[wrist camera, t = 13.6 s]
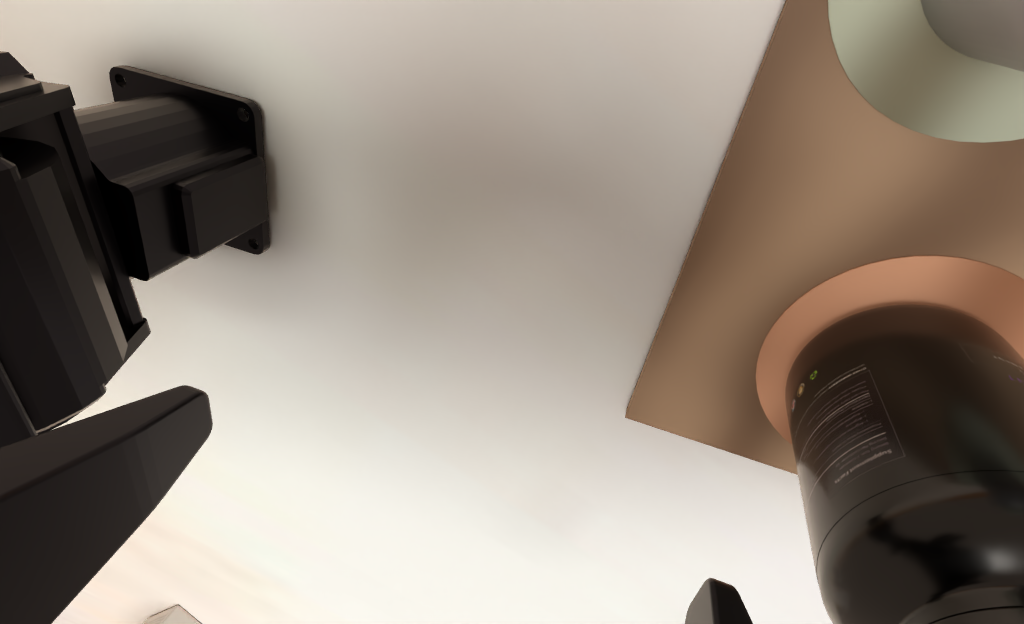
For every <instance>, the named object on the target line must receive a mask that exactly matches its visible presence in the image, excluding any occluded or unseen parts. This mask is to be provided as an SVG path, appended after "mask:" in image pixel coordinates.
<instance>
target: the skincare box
mask: <svg viewBox="0 0 1024 624" xmlns="http://www.w3.org/2000/svg"><path fill="white" fill-rule="evenodd" d="M143 624H201V623H200V622H198V621H197V620H196V619H195V618H194V617H192V616H191V615H190V614H189V613H188V612H187V611H185V610H184V609H183V608H182V607H180V606H179V605H176V606H174V607H172V608H170V609H168V610H166V611H163V612H161V613H159V614H157V615H154V616H152V617H150V618H148V619H147V620H146V621H145V622H144V623H143Z"/></svg>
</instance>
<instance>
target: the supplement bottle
mask: <svg viewBox="0 0 1024 624" xmlns="http://www.w3.org/2000/svg"><path fill="white" fill-rule="evenodd" d="M785 402H786V410H787V416H788V424H789V429H790V434H791V440H792V445H793V451H794V456H795V462H796V467H797V473H798V478H799V483H800V489H801V494H802V500H803V505H804V511H805V516H806V522H807V527H808V532H809V538H810V543H811V549H812V554H813V559H814V565H815V570H816V575H817V580H818V584H819V588H820V592H821V596H822V600H823V604H824V606H825V608H826V611H827V613H828V615H829V617H830V619H831V621H832V623H833V624H1024V359H1023V358H1022V357H1021V356H1020V355H1019V353H1018V352H1017V351H1016V350H1015V349H1014V348H1013V347H1012V346H1011V345H1010V344H1009V343H1008V342H1007V341H1006V340H1005V339H1004V338H1003V337H1002V336H1001V335H1000V334H999V333H997V332H996V331H995V330H994V329H992V328H991V327H989V326H988V325H986V324H985V323H983V322H981V321H979V320H977V319H975V318H973V317H971V316H968V315H966V314H963V313H961V312H957V311H954V310H951V309H947V308H942V307H937V306H929V305H915V304H908V305H892V306H884V307H878V308H873V309H869V310H866V311H862V312H859V313H856V314H853V315H851V316H848V317H846V318H844V319H842V320H840V321H838V322H836V323H834V324H832V325H831V326H829V327H827V328H826V329H824V330H823V331H822V332H820V333H819V334H818V335H816V336H815V337H814V338H813V339H812V340H811V341H810V342H809V343H808V344H807V345H806V346H805V347H804V348H803V349H802V350H801V352H800V353H799V355H798V356H797V357H796V359H795V361H794V363H793V365H792V367H791V369H790V372H789V374H788V378H787V382H786V388H785Z"/></svg>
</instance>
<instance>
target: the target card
mask: <svg viewBox="0 0 1024 624" xmlns="http://www.w3.org/2000/svg"><path fill="white" fill-rule="evenodd" d="M908 304H915V305H929V306H937V307H942V308H947V309H951V310H954V311H957V312H961V313H963V314H966V315H968V316H971V317H973V318H975V319H977V320H979V321H981V322H983V323H985V324H986V325H988V326H989V327H991V328H992V329H994V330H995V331H996V332H997V333H999V334H1000V335H1001V336H1002V337H1003V338H1004V339H1005V340H1006V341H1007V342H1008V343H1009V344H1010V345H1011V346H1012V347H1013V348H1014V349H1015V350H1016V351H1017V352H1018V353H1019V355H1020V356H1021V357H1022V358H1023V359H1024V72H1022V71H1018V70H1014V69H1011V68H1007V67H1003V66H1000V65H996V64H992V63H989V62H985V61H981V60H978V59H974V58H971V57H968V56H965V55H963V54H961V53H959V52H957V51H955V50H953V49H952V48H951V47H949V46H948V45H946V44H945V43H944V42H943V41H942V40H941V39H940V38H939V37H938V36H937V35H936V34H935V32H934V31H933V29H932V28H931V27H930V25H929V23H928V21H927V19H926V17H925V15H924V12H923V8H922V4H921V0H786V2H785V4H784V7H783V10H782V12H781V15H780V17H779V20H778V22H777V25H776V28H775V30H774V33H773V35H772V38H771V40H770V43H769V46H768V48H767V51H766V53H765V56H764V58H763V61H762V63H761V66H760V69H759V71H758V74H757V76H756V79H755V81H754V84H753V87H752V89H751V92H750V94H749V97H748V99H747V102H746V105H745V107H744V110H743V112H742V115H741V117H740V120H739V123H738V125H737V128H736V130H735V133H734V135H733V138H732V140H731V143H730V146H729V148H728V151H727V153H726V156H725V158H724V161H723V164H722V166H721V169H720V171H719V174H718V176H717V179H716V182H715V184H714V187H713V189H712V192H711V194H710V197H709V199H708V202H707V205H706V207H705V210H704V212H703V215H702V217H701V220H700V223H699V225H698V228H697V230H696V233H695V235H694V238H693V241H692V243H691V246H690V248H689V251H688V253H687V256H686V259H685V261H684V264H683V266H682V269H681V271H680V274H679V276H678V279H677V282H676V284H675V287H674V289H673V292H672V294H671V297H670V300H669V302H668V305H667V307H666V310H665V312H664V315H663V318H662V320H661V323H660V325H659V328H658V330H657V333H656V336H655V338H654V341H653V343H652V346H651V348H650V351H649V353H648V356H647V359H646V361H645V364H644V366H643V369H642V371H641V374H640V377H639V379H638V382H637V384H636V387H635V389H634V392H633V395H632V397H631V400H630V402H629V405H628V407H627V410H626V416H625V418H628V419H631V420H634V421H637V422H640V423H643V424H646V425H649V426H652V427H655V428H658V429H661V430H664V431H667V432H670V433H673V434H676V435H679V436H682V437H685V438H689V439H692V440H695V441H698V442H701V443H704V444H707V445H710V446H713V447H716V448H719V449H722V450H725V451H728V452H731V453H734V454H737V455H740V456H743V457H746V458H749V459H752V460H755V461H758V462H761V463H764V464H767V465H770V466H773V467H776V468H779V469H782V470H785V471H788V472H791V473H794V474H797V475H798V473H797V467H796V462H795V456H794V451H793V445H792V440H791V434H790V429H789V424H788V416H787V410H786V402H785V388H786V382H787V378H788V374H789V372H790V369H791V367H792V365H793V363H794V361H795V359H796V357H797V356H798V355H799V353H800V352H801V350H802V349H803V348H804V347H805V346H806V345H807V344H808V343H809V342H810V341H811V340H812V339H813V338H814V337H815V336H816V335H818V334H819V333H820V332H822V331H823V330H824V329H826V328H827V327H829V326H831V325H832V324H834V323H836V322H838V321H840V320H842V319H844V318H846V317H848V316H851V315H853V314H856V313H859V312H862V311H866V310H869V309H873V308H878V307H884V306H892V305H908Z"/></svg>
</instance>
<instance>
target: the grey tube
mask: <svg viewBox="0 0 1024 624" xmlns="http://www.w3.org/2000/svg"><path fill="white" fill-rule="evenodd" d="M921 4H922V8H923V12H924V15H925V17H926V19H927V21H928V23H929V25H930V27H931V28H932V29H933V31H934V32H935V34H936V35H937V36H938V37H939V38H940V39H941V40H942V41H943V42H944V43H945V44H946V45H948V46H949V47H951V48H952V49H953V50H955V51H957V52H959V53H961V54H963V55H965V56H968V57H971V58H974V59H978V60H981V61H985V62H989V63H992V64H996V65H1000V66H1003V67H1007V68H1011V69H1014V70H1018V71H1022V72H1024V0H921Z"/></svg>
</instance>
